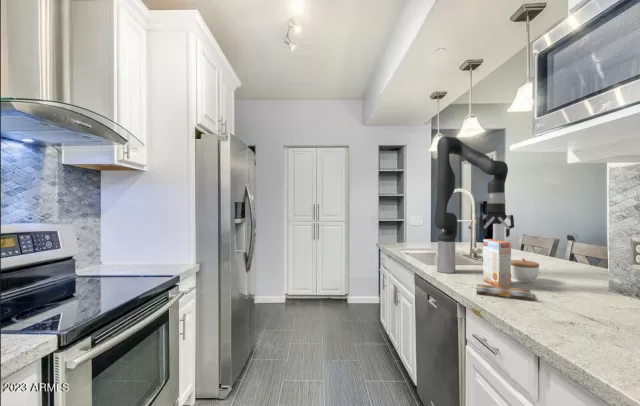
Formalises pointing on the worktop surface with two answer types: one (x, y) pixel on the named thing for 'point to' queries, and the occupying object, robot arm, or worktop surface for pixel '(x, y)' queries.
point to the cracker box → (497, 262)
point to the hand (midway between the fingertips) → (496, 236)
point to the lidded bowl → (524, 270)
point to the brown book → (505, 292)
